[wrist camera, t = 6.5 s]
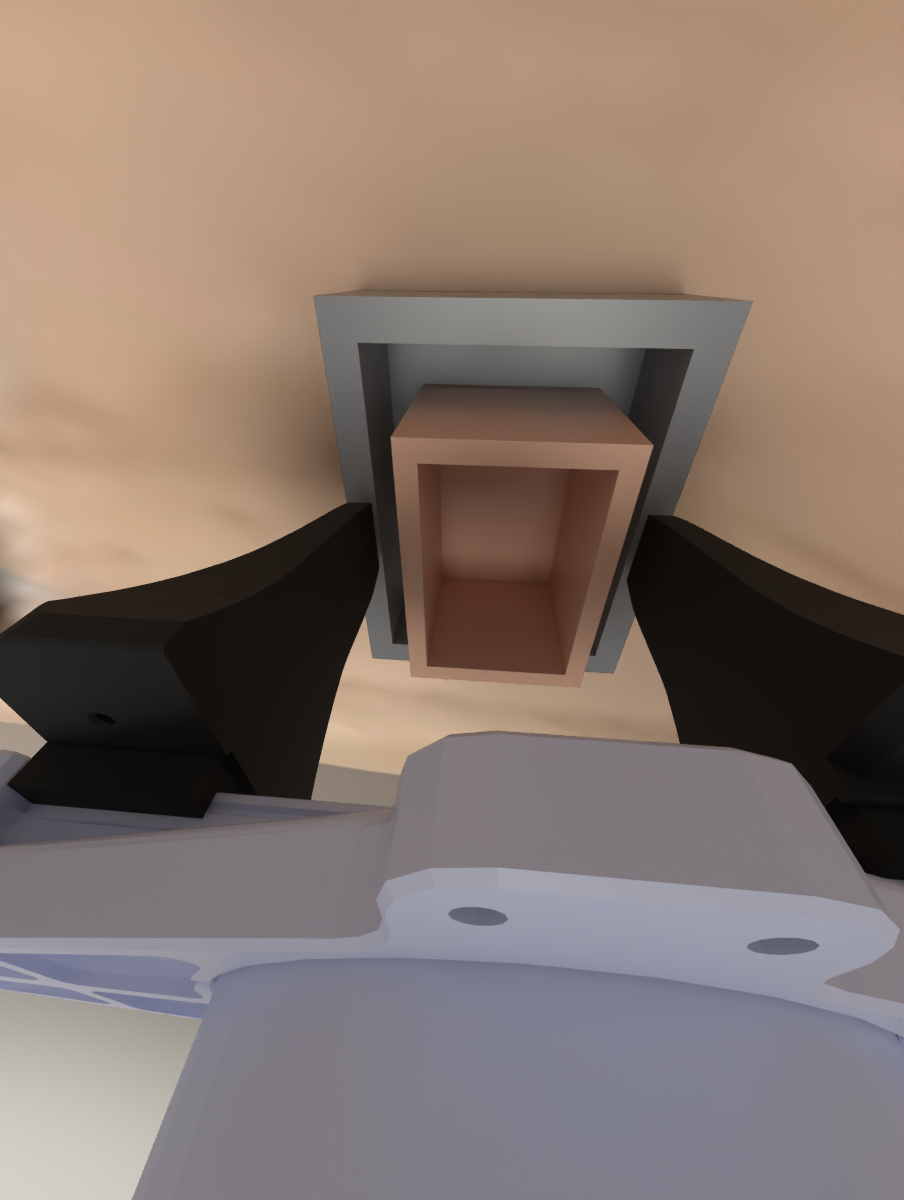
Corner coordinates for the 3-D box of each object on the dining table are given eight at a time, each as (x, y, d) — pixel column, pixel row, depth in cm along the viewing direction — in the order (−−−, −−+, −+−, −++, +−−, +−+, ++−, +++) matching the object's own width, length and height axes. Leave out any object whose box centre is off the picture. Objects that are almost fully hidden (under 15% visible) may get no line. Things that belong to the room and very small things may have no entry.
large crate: (685, 294, 11) (753, 300, 8) (594, 610, 17) (613, 673, 14) (357, 290, 11) (313, 296, 8) (391, 598, 18) (372, 658, 15)
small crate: (599, 387, 12) (653, 445, 8) (558, 586, 16) (579, 687, 12) (424, 383, 12) (390, 437, 8) (430, 580, 16) (410, 676, 12)
